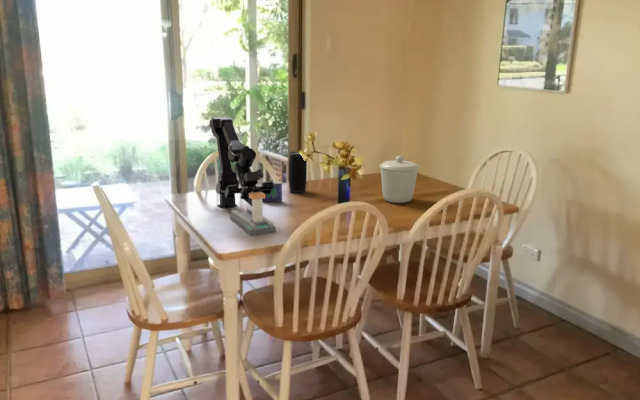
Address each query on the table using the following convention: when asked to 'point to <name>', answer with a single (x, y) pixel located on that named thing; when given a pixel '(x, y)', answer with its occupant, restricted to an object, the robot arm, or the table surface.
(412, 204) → the table surface
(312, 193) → the table surface
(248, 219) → the fader track
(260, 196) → the slider handle
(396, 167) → the canister
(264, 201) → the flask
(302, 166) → the portable speaker
